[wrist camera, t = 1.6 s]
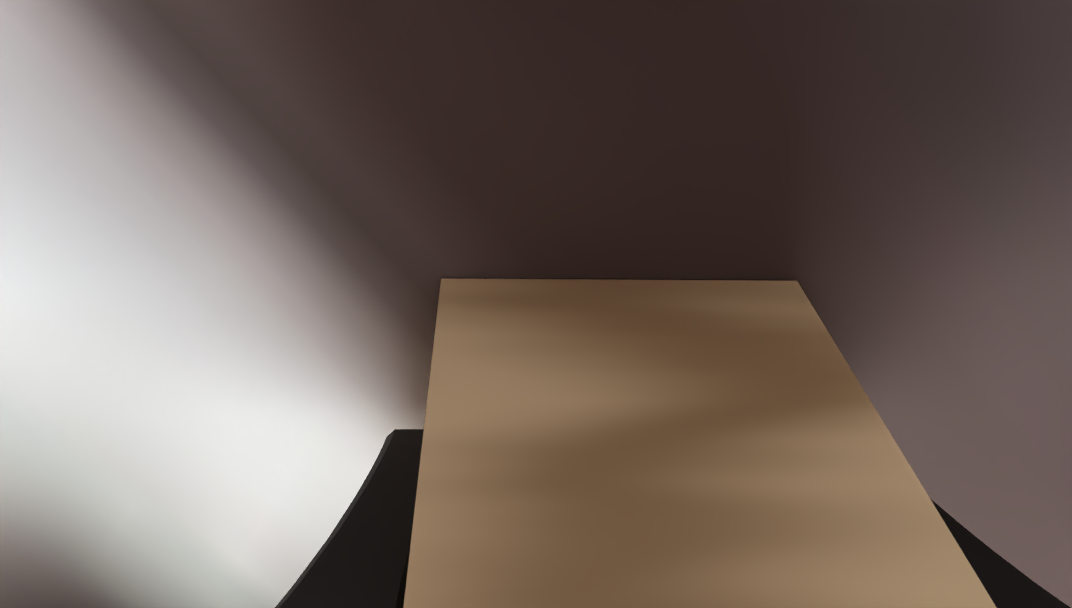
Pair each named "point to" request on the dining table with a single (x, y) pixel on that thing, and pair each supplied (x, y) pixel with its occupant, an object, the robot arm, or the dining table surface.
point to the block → (662, 457)
